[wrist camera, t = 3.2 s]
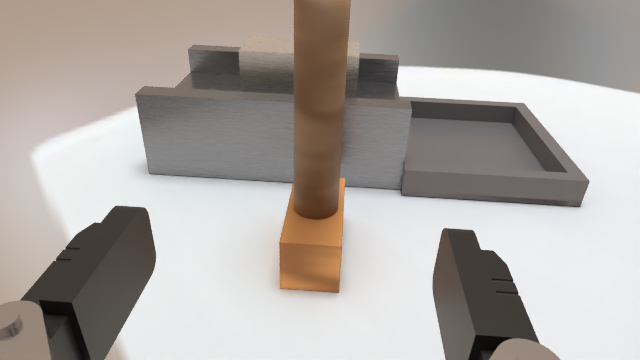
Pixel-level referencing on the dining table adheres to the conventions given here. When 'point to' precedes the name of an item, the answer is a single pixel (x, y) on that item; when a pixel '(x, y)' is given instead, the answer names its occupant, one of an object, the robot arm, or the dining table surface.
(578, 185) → the tray
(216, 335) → the dining table surface
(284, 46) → the chip
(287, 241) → the wooden post on base
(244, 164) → the slot board
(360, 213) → the dining table surface
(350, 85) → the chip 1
